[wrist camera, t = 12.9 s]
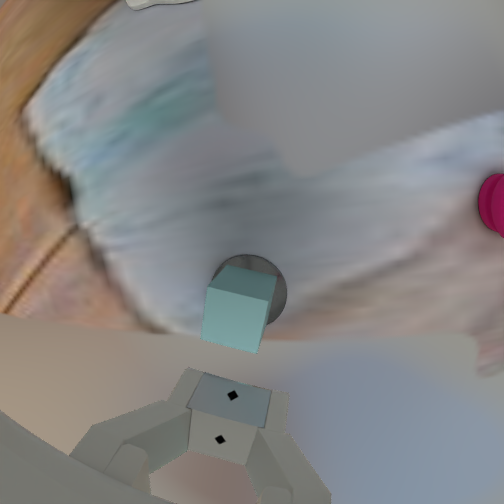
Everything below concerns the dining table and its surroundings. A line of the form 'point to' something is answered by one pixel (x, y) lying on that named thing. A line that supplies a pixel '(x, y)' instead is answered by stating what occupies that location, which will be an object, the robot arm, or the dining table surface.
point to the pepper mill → (493, 203)
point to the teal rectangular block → (238, 308)
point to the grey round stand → (263, 267)
